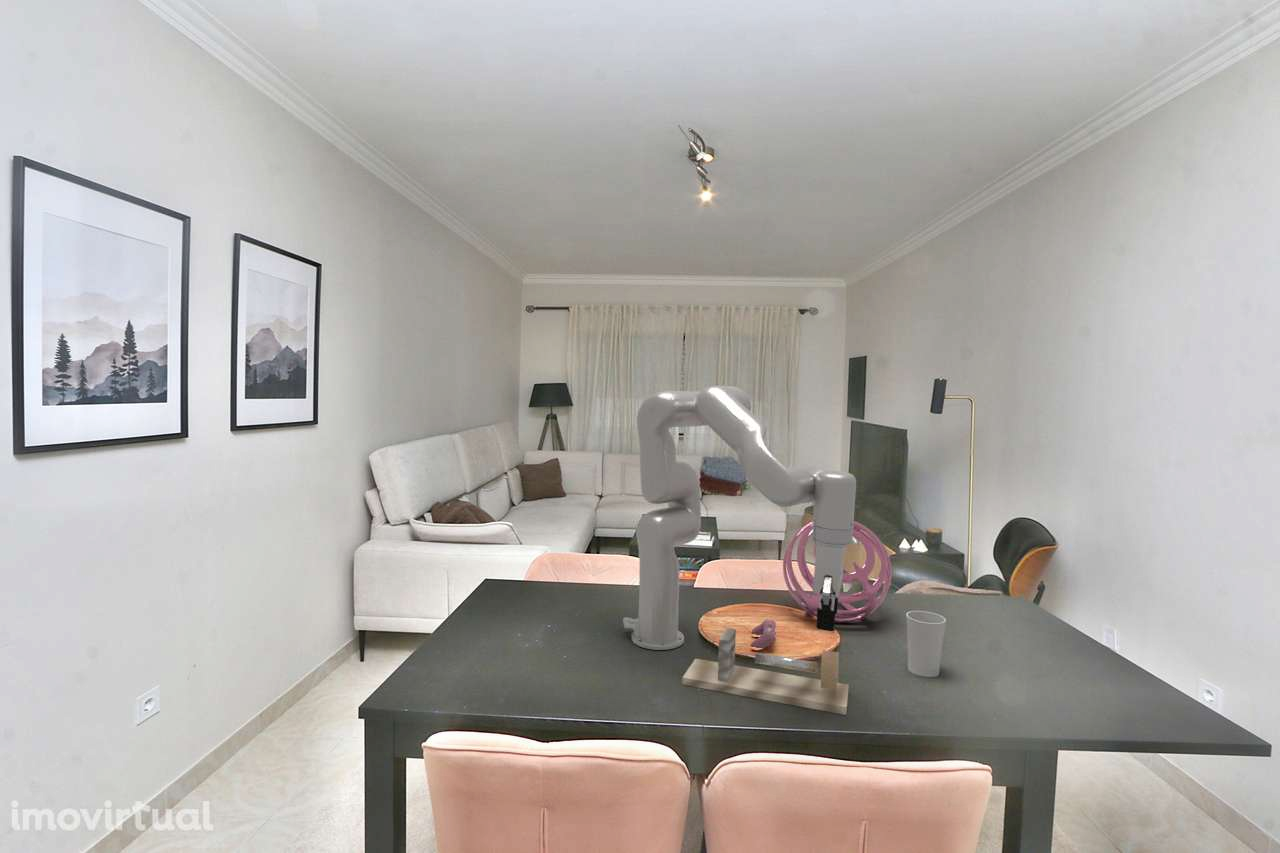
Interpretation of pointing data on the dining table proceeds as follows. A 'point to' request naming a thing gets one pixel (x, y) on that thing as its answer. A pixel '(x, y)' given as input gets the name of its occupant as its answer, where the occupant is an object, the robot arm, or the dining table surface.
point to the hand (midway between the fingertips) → (826, 620)
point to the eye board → (762, 681)
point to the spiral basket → (848, 578)
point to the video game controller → (764, 634)
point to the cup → (924, 642)
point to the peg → (807, 666)
